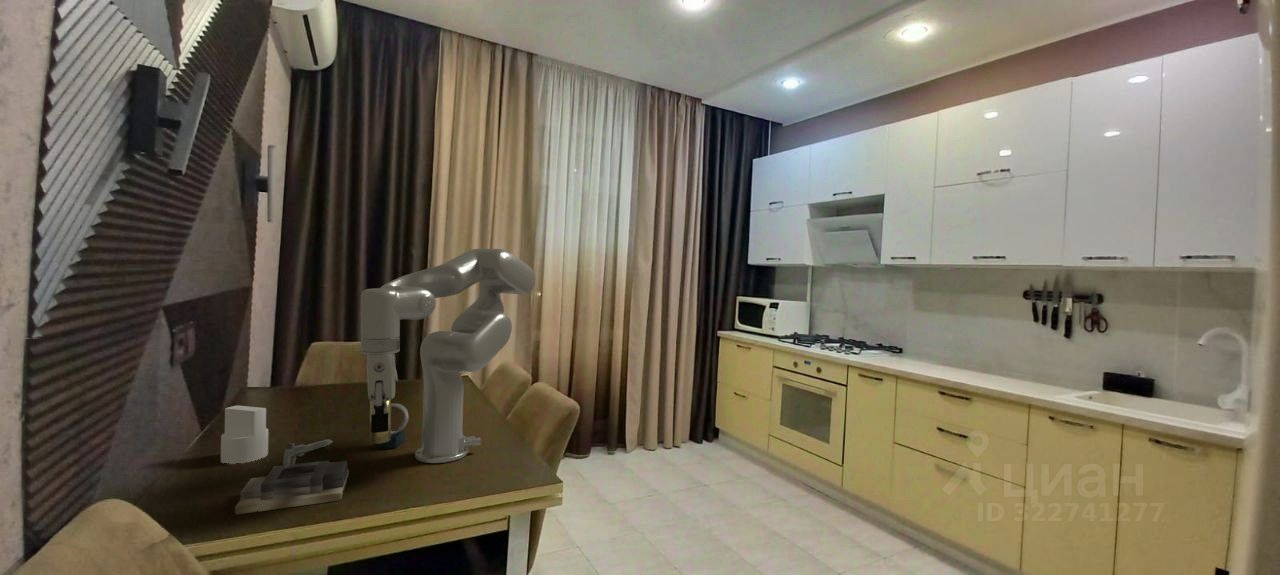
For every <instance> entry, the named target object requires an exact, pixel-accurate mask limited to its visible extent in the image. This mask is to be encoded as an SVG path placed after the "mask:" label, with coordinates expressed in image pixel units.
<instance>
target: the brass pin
mask: <svg viewBox="0 0 1280 575" xmlns="http://www.w3.org/2000/svg"><path fill="white" fill-rule="evenodd" d="M375 398H376V397H375ZM382 399H385V396H382ZM391 400H392V399H391V398H387V412H388V431H386V432H377V433H372V432H371V414H372V401H370V400H369V443H370V444H378V445H379V443H385V442H388V441H390V440H391V430H392V429H391V428H392V427H391V422H392V420H391V418H392V416H391V414H392V407H391V404H392V401H391ZM382 403H384V402H382Z"/></svg>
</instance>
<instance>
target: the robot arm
mask: <svg viewBox="0 0 1280 575" xmlns="http://www.w3.org/2000/svg"><path fill="white" fill-rule="evenodd" d="M476 283H479V285H478V289H479V290H478V297H477V299H476V300H475V301H474V302H473V303H472V304H471V305H470V306H468V307H466V309H465V310H463V312H461V313H460V314H459V315H457V317H456V318H455V319H454V321H453V322H452V323H451V330H448V331H447V330H438V331H434V332H431V333H429V334H428V335H426V336H425V337H424V338H423V340H422V342H421V344H420V347H419V348H420V350H419V351H420V352H419V354H420V361H421V366H422V374H423V394H422V396H423V398H422V402H423V403H422V433H421V435H422V436H421V447H419V448H418V449H416V450H415V452H414V458H415V459H416V460H417V461H419V462H421V463H427V464H442V463H443V464H444V463H449V462H455V461H457V460H460V459H462V458H464V457H466V455H468V453H469V446H470V447H471V446H481V445H482V438H481V437H476V436H475V435H473V436H471V435H470V436H465V435H464V431H463V419H464V418H463V417H464V413H463V412H464V390H465V388H464V381H463V380H464V379H463V377H462V375H461V372H464V373H475V372H479V371H481V370H483V369H484V368H485V367H486V366H487V365H488V364H489V363H491V361H492V360H493V359H494V358H495V357H496V356H497V355H498V353H499V352H500V351H502V349H503V348H504V347H505V346H506V345H507V344H508V342H509V340H510V338H511V334H512V332H513V330H512V329H513V326H512V325H513V324H512V320H511V318H510V317H509V316H508V314H506V313H505V312H504V311H505V309H504V308H505V307H504V303H503V301H502V298H501V296H502V294H507V295H508V294H511V295H526V294H529V293H530V292H532V291H533V289H534V288H535V285H536V275H535V272H534V270H533V269H532V267H531V266H529V265H528V264H527V263H525V261H523V260H521V259H520V258H518V257H517V256H515V255H514V254H512V253H511V252H509V251H507V250H505V249H502V248H474V249H471V250H468V251H466V252H464V253H462V254H460V255H458V256H456V257H454V258H452V259H450V260H448V261H446V262H444V263H442V264H439V265H436V266H432V267H429V268H426V269H425V268H424V269H422V270H418V271H415V272H411V273H409V274H405V275H402V276H399V277H397V278H396V279H393V280H391V281H389V282H386V283H385V284H383V285H382V286H381V287H378V288H367V289H366V288H365V289H364V290H363V291H362V292H361V294H360V354H362V355H366V382H367V397H368V400H369V402H370V401H372V414H371V432H372V433H377V432H386V431H388V412H387V398H391V400H394V399H395V395H396V355H395V354H396V353H399V352H400V351H401V350H400V349H401V347H400V344H401V343H400V342H401V335H400V334H401V333H400V332H401V331H400V330H401V329H400V328H401V323H400V321H401V320H417V321H418V320H424V319H425V318H428V317H429V316H430V315H431V314H432V313H433V312H434V311H435V309H436V304H437V303H436V302H437V300H436V299H439V298H447V297H451V296H455V295H459V294H461V293H462V292H464V291H465V290H467V289H468V288H470V287H472V286H474V285H475V284H476ZM382 396H385V399H382ZM375 397H376V398H375ZM382 402H384V403H382Z"/></svg>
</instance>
